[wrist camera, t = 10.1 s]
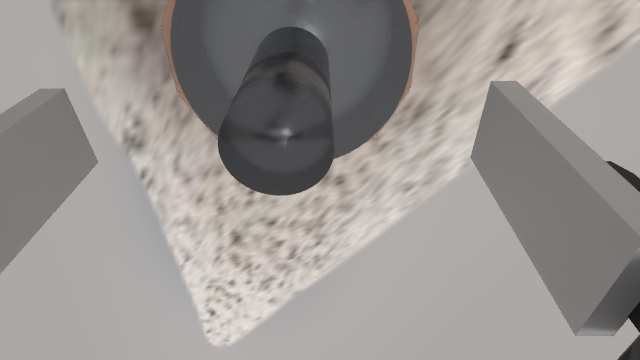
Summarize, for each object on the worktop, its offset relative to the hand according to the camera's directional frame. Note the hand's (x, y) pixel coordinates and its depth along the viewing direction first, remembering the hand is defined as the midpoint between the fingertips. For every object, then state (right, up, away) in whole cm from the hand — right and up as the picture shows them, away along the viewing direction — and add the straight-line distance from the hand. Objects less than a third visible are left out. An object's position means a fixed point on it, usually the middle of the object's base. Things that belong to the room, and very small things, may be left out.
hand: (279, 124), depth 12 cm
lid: (0, +4, +7) cm, 8 cm away
